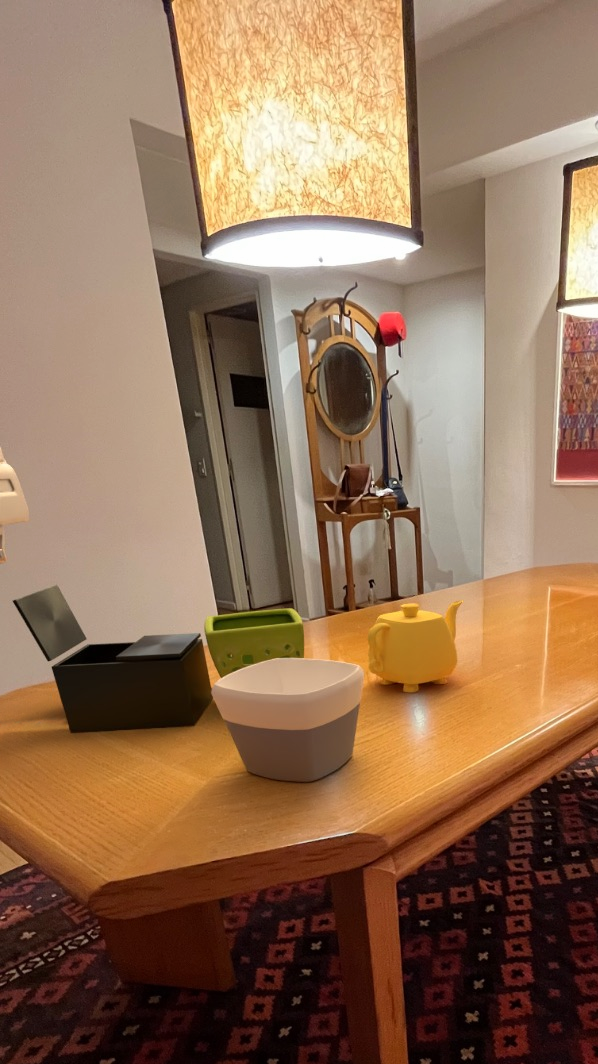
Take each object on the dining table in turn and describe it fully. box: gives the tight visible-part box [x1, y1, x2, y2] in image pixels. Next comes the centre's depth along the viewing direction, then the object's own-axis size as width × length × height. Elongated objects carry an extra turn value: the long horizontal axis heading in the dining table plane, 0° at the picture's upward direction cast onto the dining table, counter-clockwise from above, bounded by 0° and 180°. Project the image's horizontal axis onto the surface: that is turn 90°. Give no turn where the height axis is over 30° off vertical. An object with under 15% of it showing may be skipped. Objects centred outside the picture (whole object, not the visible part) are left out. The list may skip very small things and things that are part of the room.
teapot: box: [367, 599, 464, 693], centre depth 111 cm, size 14×20×13 cm
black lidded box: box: [51, 632, 214, 734], centre depth 99 cm, size 17×13×10 cm
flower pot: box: [203, 607, 305, 679], centre depth 103 cm, size 14×14×13 cm
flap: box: [12, 584, 88, 663], centre depth 94 cm, size 8×13×1 cm
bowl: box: [211, 657, 365, 783], centre depth 80 cm, size 15×15×11 cm
